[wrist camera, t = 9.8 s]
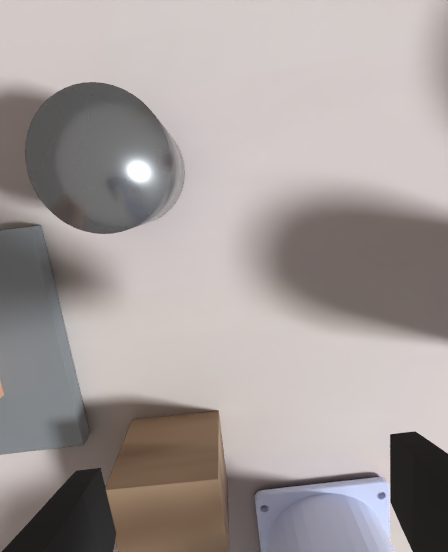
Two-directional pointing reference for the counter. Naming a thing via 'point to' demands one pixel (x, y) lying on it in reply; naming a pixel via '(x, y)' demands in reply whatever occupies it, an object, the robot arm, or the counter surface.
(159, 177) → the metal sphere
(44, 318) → the mat
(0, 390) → the terracotta block
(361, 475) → the counter surface
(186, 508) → the walnut block
